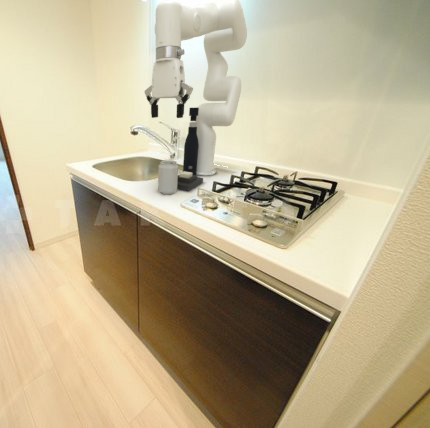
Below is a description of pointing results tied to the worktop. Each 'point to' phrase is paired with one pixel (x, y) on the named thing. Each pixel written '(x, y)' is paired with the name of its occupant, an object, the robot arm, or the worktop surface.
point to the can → (167, 177)
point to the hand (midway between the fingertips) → (166, 117)
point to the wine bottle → (191, 144)
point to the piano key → (186, 174)
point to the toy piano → (188, 183)
